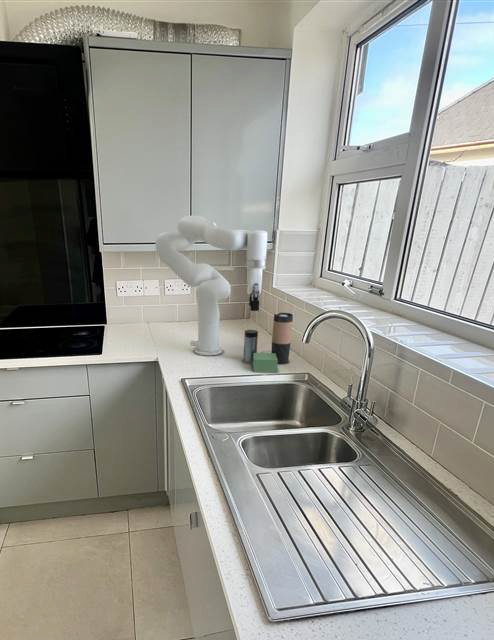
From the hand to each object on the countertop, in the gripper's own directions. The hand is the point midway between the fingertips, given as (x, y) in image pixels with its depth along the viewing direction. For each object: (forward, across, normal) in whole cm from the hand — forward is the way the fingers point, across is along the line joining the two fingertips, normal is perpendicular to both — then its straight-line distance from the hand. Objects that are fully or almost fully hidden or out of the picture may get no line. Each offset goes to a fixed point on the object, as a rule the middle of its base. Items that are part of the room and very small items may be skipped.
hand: (253, 308), depth 163 cm
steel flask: (+22, 0, -1) cm, 23 cm away
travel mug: (+23, -1, +12) cm, 26 cm away
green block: (+23, +8, +5) cm, 25 cm away
